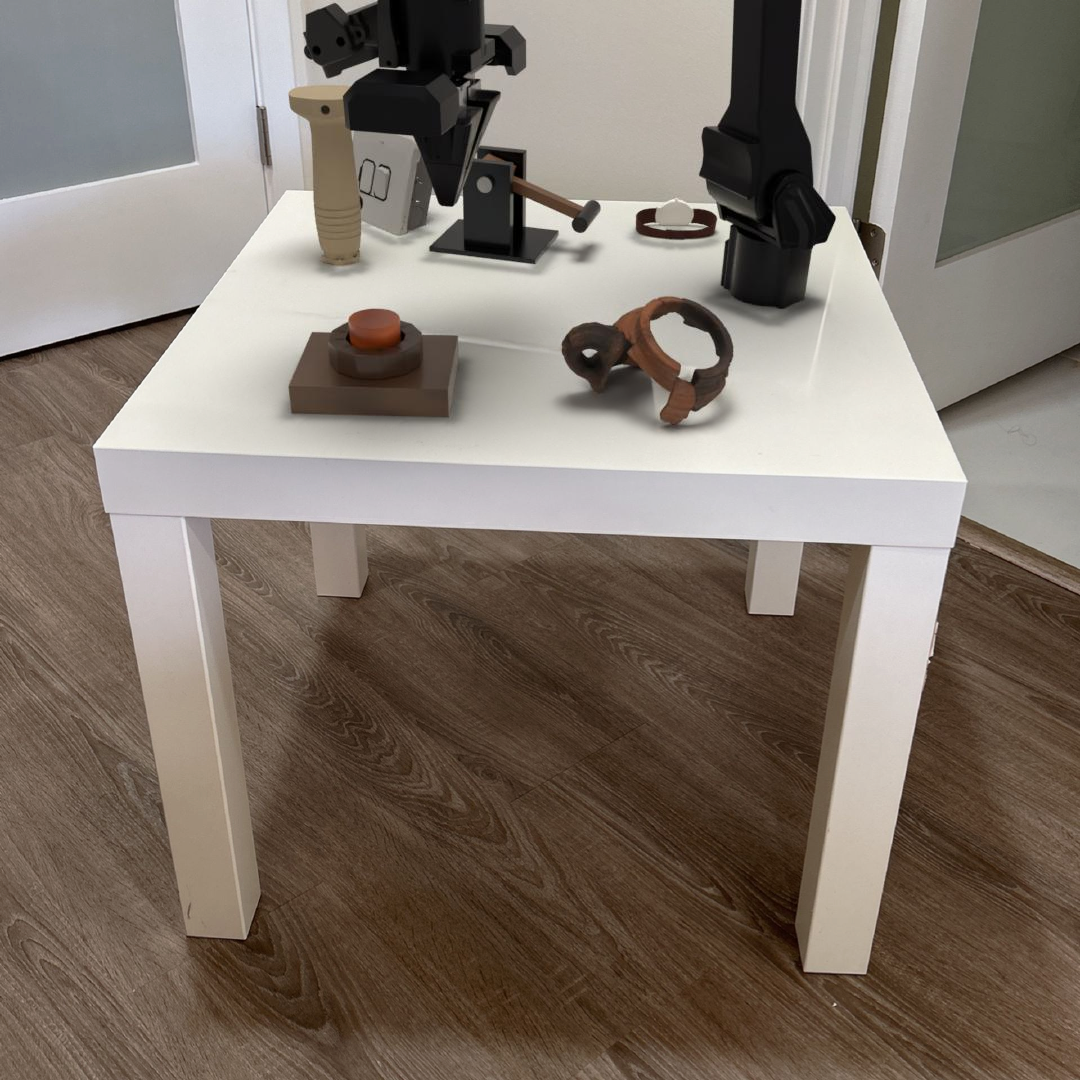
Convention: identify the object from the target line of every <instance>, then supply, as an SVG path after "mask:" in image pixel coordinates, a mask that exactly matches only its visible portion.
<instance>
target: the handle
mask: <svg viewBox="0 0 1080 1080" xmlns="http://www.w3.org/2000/svg"><path fill="white" fill-rule="evenodd" d="M351 86H352V85H342V84H341V85H340V84H338V85H337V84H317V85H315V84H314V85H305V86H298V87H294V88H292V89H289V91H288V93H287V94H288V103H289V107H290V110H291V112H293V113H294V114H296V115H298V116H300V117H302V118H303V119H305V120H307V122H308V123H309V129H310V135H311V136H310V137H311V139H310V140H311V155H312V156H311V159H312V191H313V192H312V193H313V195H312V196H313V199H312V200H313V211H314V212H313V214H314V219H315V220H314V222H315V226H316V228H315V229H316V232H317V237H318V243H319V246H320V249H321V250H322V251H323V254H321V258H322V262H323V263H324V264H331V265H334V266H336V267H337V266H339V267H340V266H342V267H343V266H345V265H350V264H356V263H358V262H359V260H360V259H359V258H360V257H361V250H360V248H361V242H362V241H361V240H362V221H361V210H360V209H361V207H360V197H359V189H358V182H357V175H356V167H355V159H354V151H353V135H352V131H350V130H349V129H347V128H346V127H345V116H344V105H343V95H344V94H345V93H346V92H347V90H348V89H349V88H350V87H351Z"/></svg>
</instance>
